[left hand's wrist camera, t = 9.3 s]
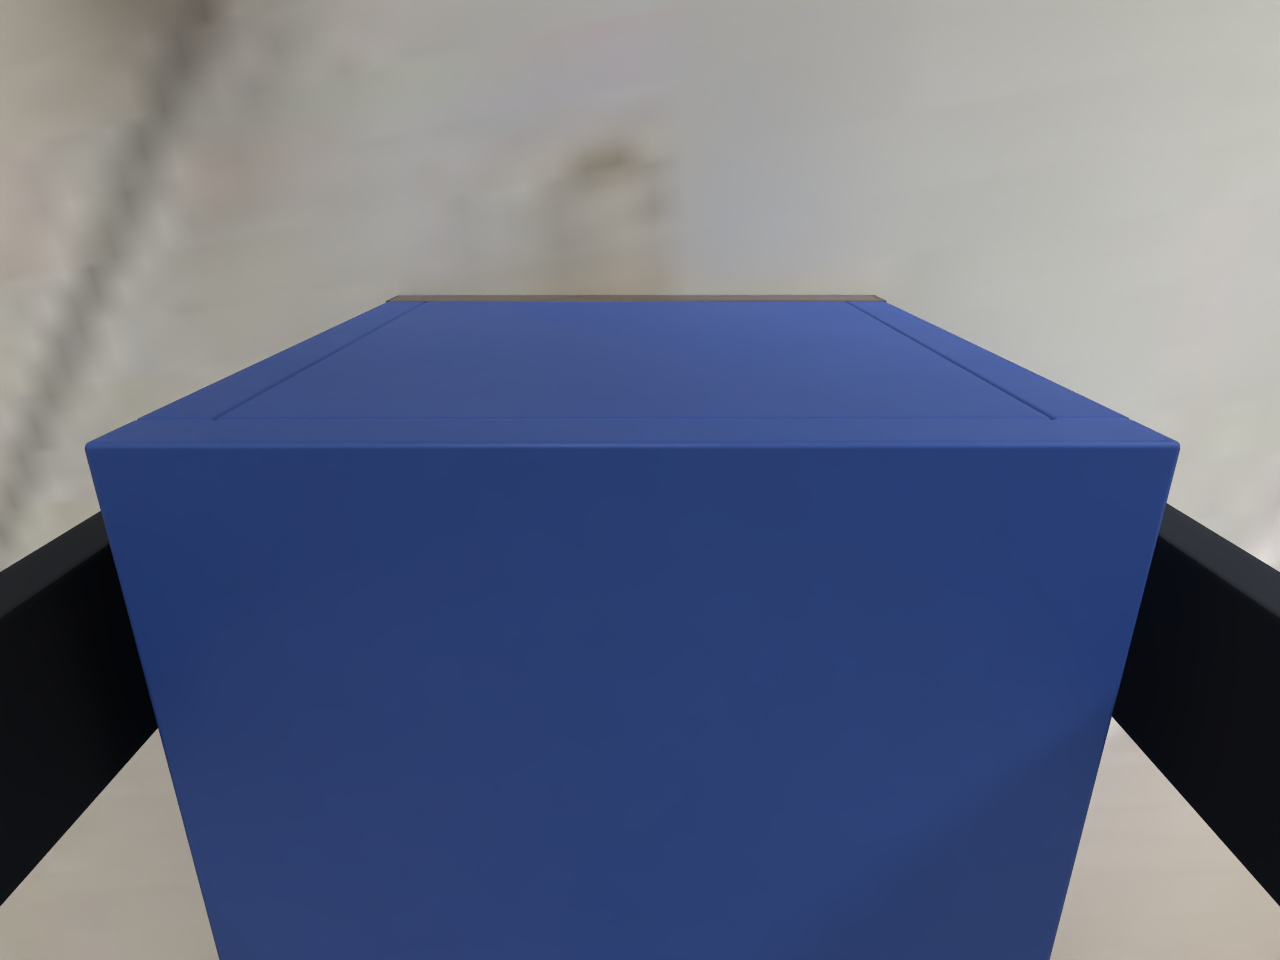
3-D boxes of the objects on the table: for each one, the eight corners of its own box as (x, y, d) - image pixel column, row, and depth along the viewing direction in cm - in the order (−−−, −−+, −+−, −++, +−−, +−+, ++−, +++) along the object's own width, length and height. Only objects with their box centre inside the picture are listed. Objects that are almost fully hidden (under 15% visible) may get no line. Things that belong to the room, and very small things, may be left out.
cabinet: (805, 972, 25) (915, 1494, 15) (470, 972, 25) (358, 1496, 15) (875, 295, 18) (1186, 441, 8) (397, 295, 18) (78, 442, 8)
